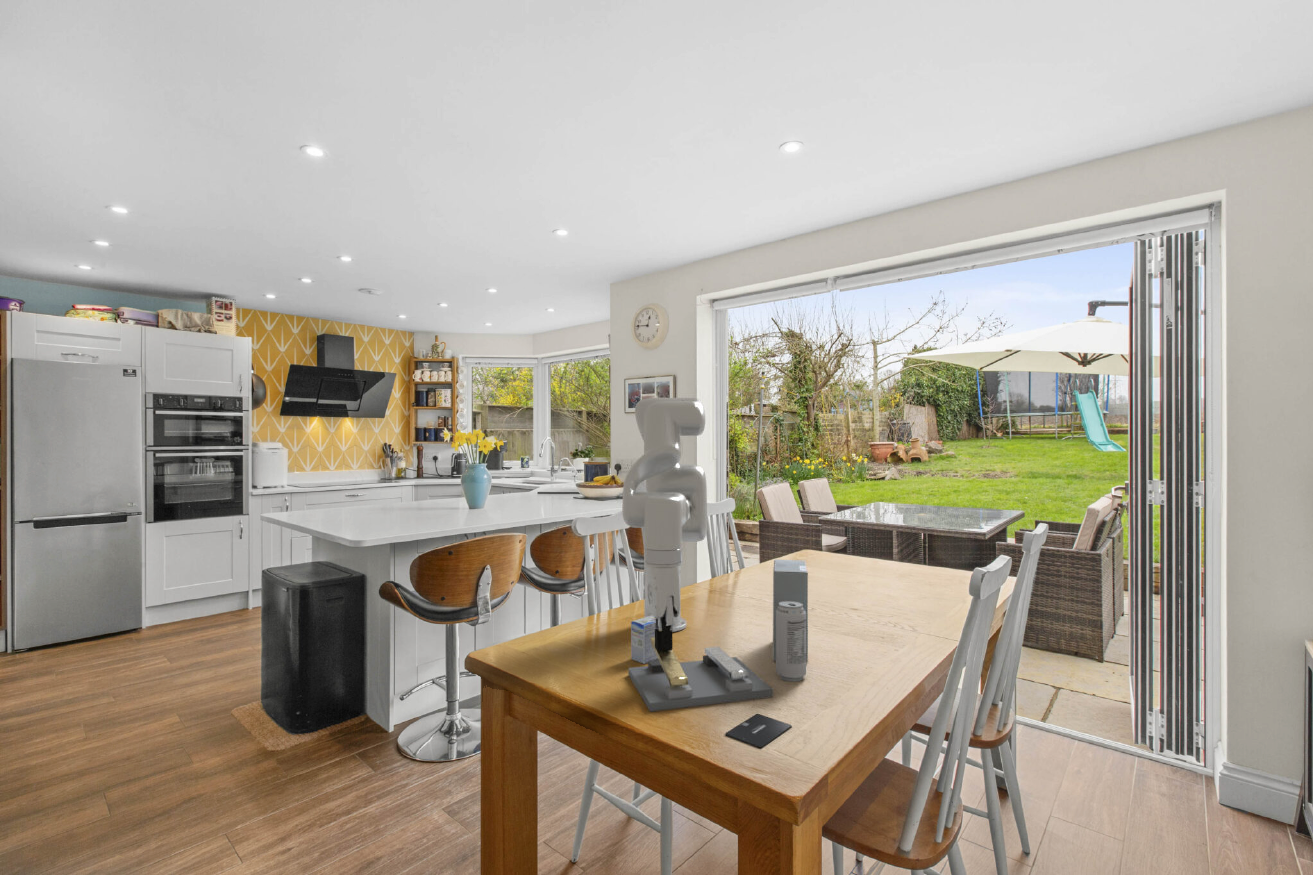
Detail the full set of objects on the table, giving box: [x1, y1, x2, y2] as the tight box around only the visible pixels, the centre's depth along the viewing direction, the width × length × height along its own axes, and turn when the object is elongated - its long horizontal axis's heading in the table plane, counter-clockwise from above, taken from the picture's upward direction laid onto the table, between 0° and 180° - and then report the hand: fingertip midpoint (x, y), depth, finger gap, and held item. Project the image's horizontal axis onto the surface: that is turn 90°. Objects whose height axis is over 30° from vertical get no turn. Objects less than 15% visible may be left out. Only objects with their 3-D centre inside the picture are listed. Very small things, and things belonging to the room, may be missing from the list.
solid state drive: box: [725, 713, 792, 750], centre depth 102 cm, size 7×10×1 cm
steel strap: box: [704, 646, 749, 680], centre depth 123 cm, size 16×3×2 cm, turn 15°
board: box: [628, 654, 774, 713], centre depth 122 cm, size 18×24×3 cm
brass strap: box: [650, 637, 688, 687], centre depth 120 cm, size 16×3×2 cm, turn 15°
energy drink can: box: [775, 601, 807, 683], centre depth 126 cm, size 6×6×15 cm
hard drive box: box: [772, 559, 809, 664], centre depth 141 cm, size 16×8×20 cm, turn 168°
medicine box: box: [630, 615, 659, 665], centre depth 138 cm, size 8×4×9 cm, turn 135°
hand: (663, 649), depth 123 cm, fingers closed
